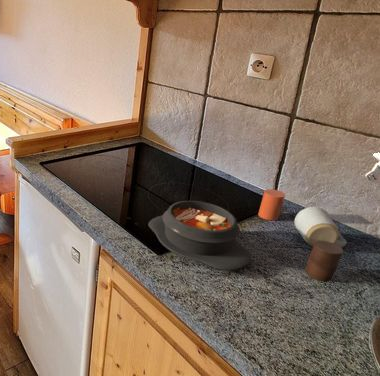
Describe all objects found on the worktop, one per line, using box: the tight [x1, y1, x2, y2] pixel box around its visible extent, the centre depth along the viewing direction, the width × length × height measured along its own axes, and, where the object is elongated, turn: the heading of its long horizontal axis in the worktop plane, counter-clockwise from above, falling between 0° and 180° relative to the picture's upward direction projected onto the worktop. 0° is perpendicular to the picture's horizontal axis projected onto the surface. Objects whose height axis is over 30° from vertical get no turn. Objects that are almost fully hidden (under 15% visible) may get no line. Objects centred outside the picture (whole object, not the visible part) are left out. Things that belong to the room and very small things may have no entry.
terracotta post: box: [257, 188, 286, 221], centre depth 109 cm, size 5×5×7 cm
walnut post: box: [304, 241, 344, 283], centre depth 86 cm, size 5×5×7 cm
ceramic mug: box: [294, 206, 347, 249], centre depth 97 cm, size 11×8×8 cm
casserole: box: [147, 200, 253, 271], centre depth 95 cm, size 25×19×8 cm
